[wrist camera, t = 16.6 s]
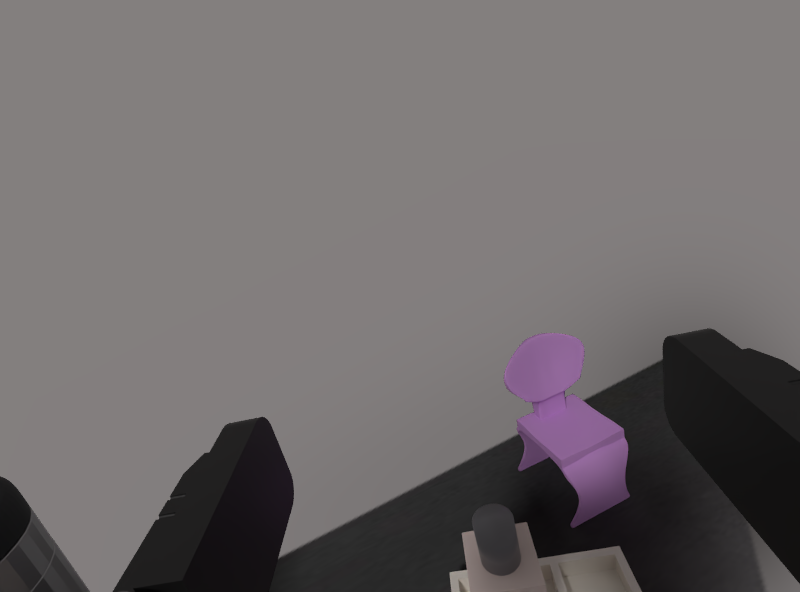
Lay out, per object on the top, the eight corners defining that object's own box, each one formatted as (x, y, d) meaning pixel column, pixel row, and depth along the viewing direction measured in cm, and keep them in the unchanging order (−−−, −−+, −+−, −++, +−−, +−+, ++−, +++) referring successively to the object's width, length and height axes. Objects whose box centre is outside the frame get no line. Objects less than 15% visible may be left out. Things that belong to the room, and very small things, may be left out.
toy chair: (566, 538, 39) (546, 391, 34) (509, 473, 47) (485, 346, 42) (643, 495, 41) (636, 350, 36) (576, 440, 49) (561, 314, 44)
